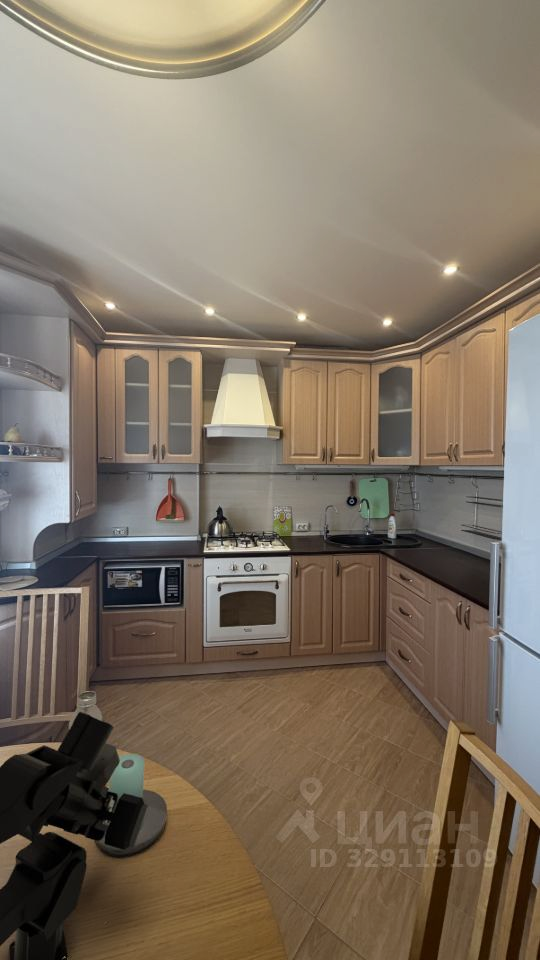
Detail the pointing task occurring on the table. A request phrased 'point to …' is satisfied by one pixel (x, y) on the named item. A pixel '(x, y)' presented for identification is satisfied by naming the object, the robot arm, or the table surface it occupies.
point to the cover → (128, 777)
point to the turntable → (148, 820)
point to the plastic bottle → (86, 706)
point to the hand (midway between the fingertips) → (108, 818)
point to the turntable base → (131, 852)
